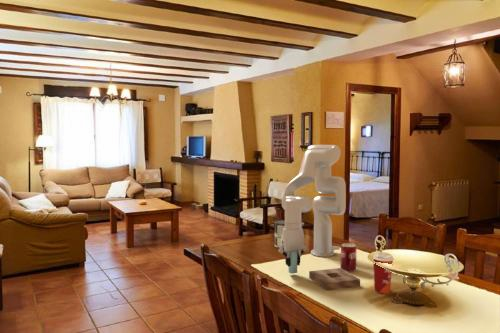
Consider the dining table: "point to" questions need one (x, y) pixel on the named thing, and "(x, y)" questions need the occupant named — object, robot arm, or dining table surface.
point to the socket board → (334, 279)
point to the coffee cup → (382, 273)
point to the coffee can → (279, 232)
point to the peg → (293, 262)
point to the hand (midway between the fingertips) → (292, 264)
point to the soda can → (348, 257)
